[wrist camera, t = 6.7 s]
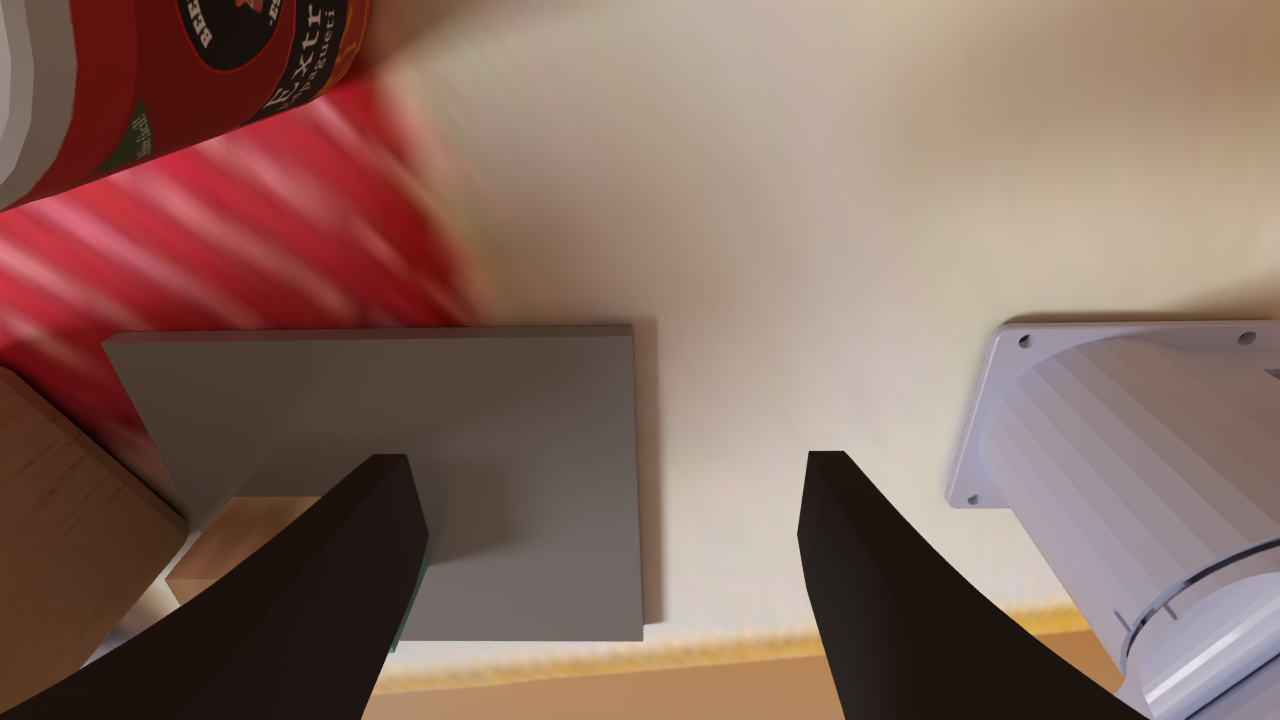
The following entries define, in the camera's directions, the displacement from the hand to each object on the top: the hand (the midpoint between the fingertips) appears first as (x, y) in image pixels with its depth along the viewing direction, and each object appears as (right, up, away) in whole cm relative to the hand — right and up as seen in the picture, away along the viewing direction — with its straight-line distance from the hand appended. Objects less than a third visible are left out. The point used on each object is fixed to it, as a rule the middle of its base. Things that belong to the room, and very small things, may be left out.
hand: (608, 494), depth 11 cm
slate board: (-8, -3, +14) cm, 17 cm away
